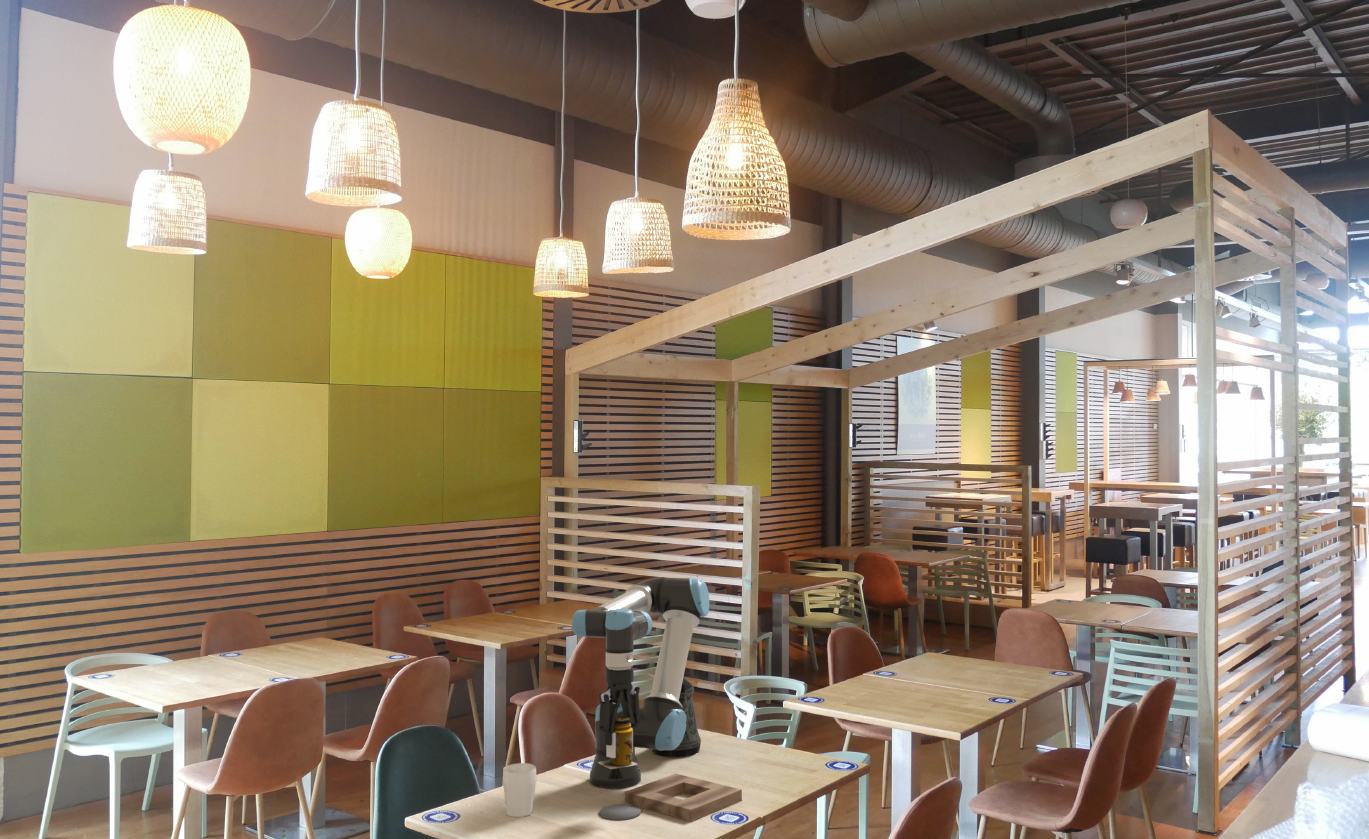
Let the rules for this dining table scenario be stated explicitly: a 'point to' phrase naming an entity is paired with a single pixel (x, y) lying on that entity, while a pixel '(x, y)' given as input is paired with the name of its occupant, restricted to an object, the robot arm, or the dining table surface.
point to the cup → (519, 788)
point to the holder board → (692, 808)
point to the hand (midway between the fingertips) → (619, 754)
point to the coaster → (620, 812)
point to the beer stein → (691, 736)
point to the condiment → (621, 745)
